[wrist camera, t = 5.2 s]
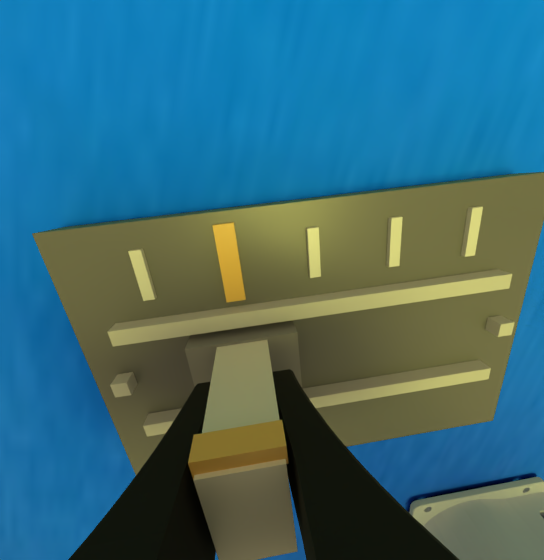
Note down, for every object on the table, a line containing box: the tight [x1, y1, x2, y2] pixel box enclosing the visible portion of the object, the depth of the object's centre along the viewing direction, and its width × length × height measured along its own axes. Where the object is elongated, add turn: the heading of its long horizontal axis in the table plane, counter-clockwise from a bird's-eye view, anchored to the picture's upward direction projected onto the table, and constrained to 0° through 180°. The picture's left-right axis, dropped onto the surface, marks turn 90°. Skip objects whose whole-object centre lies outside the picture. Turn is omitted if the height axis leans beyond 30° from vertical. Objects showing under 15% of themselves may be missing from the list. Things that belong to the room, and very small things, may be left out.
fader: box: [185, 320, 302, 560], centre depth 8 cm, size 4×4×5 cm
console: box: [32, 172, 544, 475], centre depth 11 cm, size 18×12×2 cm, turn 96°
